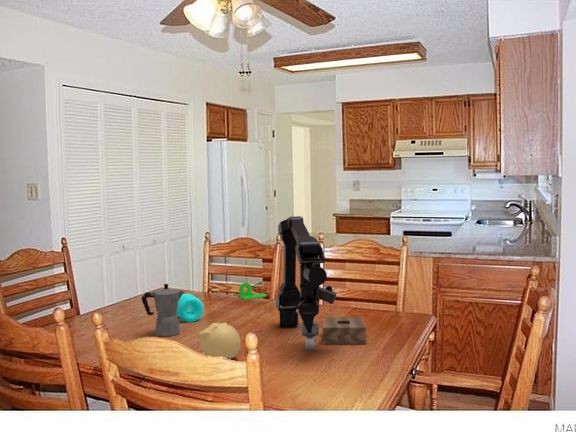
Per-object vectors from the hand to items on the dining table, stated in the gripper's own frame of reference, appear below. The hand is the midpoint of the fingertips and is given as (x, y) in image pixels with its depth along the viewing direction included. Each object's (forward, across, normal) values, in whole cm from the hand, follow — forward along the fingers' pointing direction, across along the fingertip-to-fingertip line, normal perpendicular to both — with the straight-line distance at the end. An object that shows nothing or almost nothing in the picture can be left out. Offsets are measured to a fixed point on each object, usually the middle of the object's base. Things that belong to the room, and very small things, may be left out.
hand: (309, 328), depth 175 cm
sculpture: (+7, -8, +27) cm, 29 cm away
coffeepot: (+7, +19, +53) cm, 57 cm away
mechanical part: (+7, +77, +28) cm, 83 cm away
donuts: (+7, +39, +49) cm, 63 cm away
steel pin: (+7, 0, 0) cm, 7 cm away
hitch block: (+7, +13, -11) cm, 18 cm away
